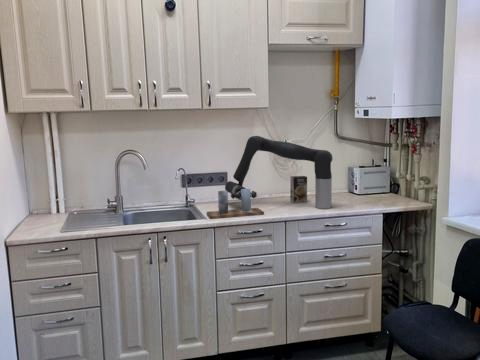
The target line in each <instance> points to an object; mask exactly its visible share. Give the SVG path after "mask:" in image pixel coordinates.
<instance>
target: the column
mask: <svg viewBox="0 0 480 360" xmlns="http://www.w3.org/2000/svg"><path fill="white" fill-rule="evenodd" d="M250 192H251V188H246V189H241V200H240V203H241V209H242V211H244V212H248V211H251V208H252V205H251V204H252V203H251V202H252V199H251V198H252V197H250Z"/></svg>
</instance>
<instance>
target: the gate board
mask: <svg viewBox="0 0 480 360" xmlns="http://www.w3.org/2000/svg"><path fill="white" fill-rule="evenodd" d="M228 193H229V192H228V191H226V190H219V191H218V192H217V195H218V197H217V199H218V210H214V211H213V210H212V211H206V216H207V217H208V218H209V219H210V220H215V219H225V218H227V219H228V218H239V217H240V218H241V217H251V216H263V215H265V212H264V211H263V210H262V209H261V208H259V207H251V211H248V212H244V211H242V208H238V209H237V208H236V209H229V198H228V197H229V196H228Z"/></svg>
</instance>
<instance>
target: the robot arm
mask: <svg viewBox="0 0 480 360" xmlns="http://www.w3.org/2000/svg"><path fill="white" fill-rule="evenodd" d="M246 141H247V142H246V143H245V147H244V150H243V154H242V156H241V159H240V161H239V163H238V165H237V167H236V170H235V172H234V173H233V176H232V177H233V179H235V180H236V182H234V181H230V180H228V181H227V182H226V183H225V186H224V189H225V190H224V191H228V193H229V194H230V198H231V199H236V200H240V201H241V189H247V188H246V187H244V186H243V185H244V182H245V179H246V177H247V174H248V172H249V169H250V166H251V163H252V160H253V158H254V156H255V155H256V153H257V152H259V151H260V152H267V153H268V152H269V153H271V154H274V155H276V156H277V157H282V158H285V159H289V160H296V161H308V162H312V163H314V175H315V181H314V182H315V184H314V185H315V187H314V188H315V189H314V190H315V208H316V209H325V210H326V209H331V208H332V207H333V206H332V202H333V201H332V195H333V194H332V193H333V192H332V191H333V189H332V179H333V177H332V176H333V174H332V171H331V170H332V168H331V166H332V164H331V163H332V161H333V155H332V153H331V152H330V151H329V150H327V149H317V148H310V147H307V146H304V145H300V144H296V143H291V142H286V141H281V140H279V141H278V140H273V139H269V138H266V137H263V136H260V135H253V136H250V137H249V138H248V139H247V140H246ZM257 196H258V195H257V192H256V191H254V190H252V191H250V197H251V198H252V199H256V198H257Z"/></svg>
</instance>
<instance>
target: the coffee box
mask: <svg viewBox="0 0 480 360" xmlns="http://www.w3.org/2000/svg"><path fill="white" fill-rule="evenodd" d="M289 177H290V178H289V179H290V183H289V184H290V185H289V186H290V193H289V194H290V195H289V198H290V202H291V203H293V204H298V203H307V202H308V176H306V175H293V176H292V175H291V176H289Z"/></svg>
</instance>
